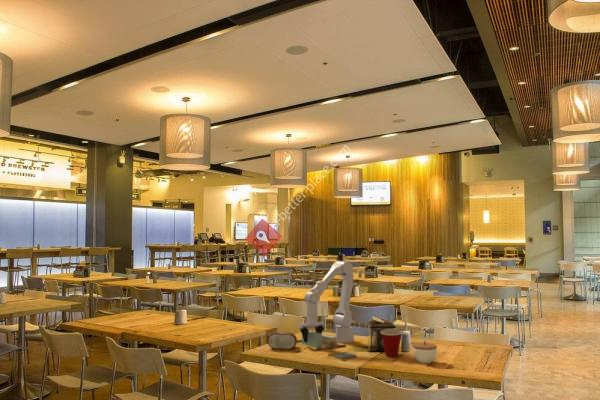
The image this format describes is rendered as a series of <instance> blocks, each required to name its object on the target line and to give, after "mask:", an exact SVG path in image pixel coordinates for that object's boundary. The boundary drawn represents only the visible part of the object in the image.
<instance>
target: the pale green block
mask: <svg viewBox="0 0 600 400" xmlns="http://www.w3.org/2000/svg"><path fill="white" fill-rule="evenodd" d="M322 334H323V333H322ZM322 334H321V333H317V332H316V331H313V330H310V329H309V331H308V341H307V343H306V342H304V339H303V335H302V334H301V340H302V342H301V344H302V345H306V346H309V347H312V348H314V349H316V348H322V347H323V345H322Z"/></svg>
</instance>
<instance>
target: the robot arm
mask: <svg viewBox="0 0 600 400" xmlns="http://www.w3.org/2000/svg"><path fill="white" fill-rule="evenodd" d="M353 270H354V266H353V264H352V263H351V262H350V261H349V260H348V261H345V260H343V261H341V260H336V261H334V263H333V264H332V265H331V268H330V269H329V270H328V272H327V273H326V275H325V276H324V277H323V278H322V280H318V281H316V282H315V285H314V286H313V287H312V288H310V290H309V291H307V292H306V293H305V296H304V297H303V299H304V301H305V304H306V318H305V319H306V320H305V321H306V322H305V323H300V324H298V326H299V327H298V329H299V330H300V332H301V336H302V335H303V339H304V342H306V343H307V341H308V331H309V330H310V329H309V328H314V329H315V332H317V333H321V334H323V331H324V329H325V322H323V321H319V322H318V303H319V302H320V300H321V296H322V295H323V294H324V292H325V291H326V290H327V288H328V284H329V283H330V282H331V281H332V280H333V279H334V278H335V277H336V276H338V275H339V276H341V278H342V285H341V291H340V297H339V304H338V308H337V309H336V310H335V313H334V315H333V317H332V321H333V324H334V326H335V337H337V344H338V343H339V344H348V343H352V342H355V333H354V332H355V330H354V328H353V326H352V323H353V318H352V315H353V313H352V312H351V311H350V304H351V298H352V290H353V284H354V278H355V277H354V272H353Z"/></svg>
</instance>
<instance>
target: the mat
mask: <svg viewBox="0 0 600 400" xmlns="http://www.w3.org/2000/svg"><path fill="white" fill-rule="evenodd" d="M328 356H330V357H331V356H332V357H334V358H337V359H340V360H344V359H351V358H357V354H354V353H351V352H348V351H344V352H343V351H342V352H338V353H329V354H328Z"/></svg>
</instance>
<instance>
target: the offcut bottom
mask: <svg viewBox="0 0 600 400" xmlns="http://www.w3.org/2000/svg"><path fill="white" fill-rule="evenodd" d="M322 344H324V345H328V346H334V345H337V344H338V342H337V341H333V342H330V341H326V340H322ZM324 345H323V346H324Z"/></svg>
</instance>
